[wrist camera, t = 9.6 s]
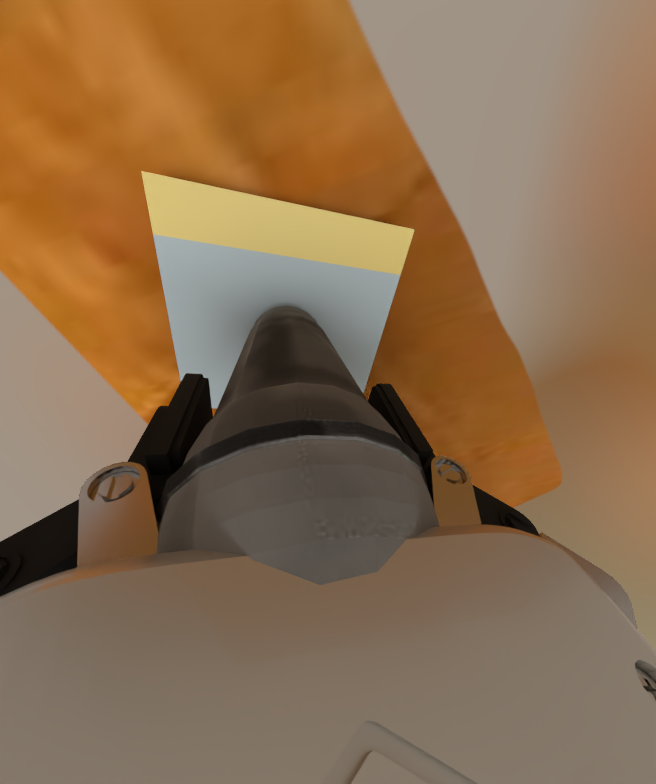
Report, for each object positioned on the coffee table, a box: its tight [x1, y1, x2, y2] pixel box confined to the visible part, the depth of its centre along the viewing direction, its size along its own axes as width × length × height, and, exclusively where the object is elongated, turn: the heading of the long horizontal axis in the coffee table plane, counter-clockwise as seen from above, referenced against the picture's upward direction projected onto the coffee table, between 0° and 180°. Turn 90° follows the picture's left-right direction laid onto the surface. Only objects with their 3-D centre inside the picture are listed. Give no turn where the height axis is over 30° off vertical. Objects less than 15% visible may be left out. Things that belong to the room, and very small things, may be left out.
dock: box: [141, 171, 415, 408], centre depth 18 cm, size 14×14×3 cm
